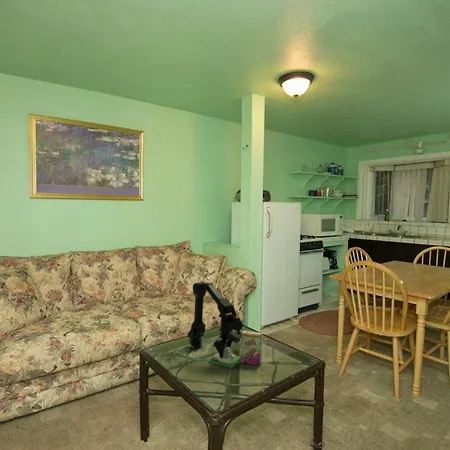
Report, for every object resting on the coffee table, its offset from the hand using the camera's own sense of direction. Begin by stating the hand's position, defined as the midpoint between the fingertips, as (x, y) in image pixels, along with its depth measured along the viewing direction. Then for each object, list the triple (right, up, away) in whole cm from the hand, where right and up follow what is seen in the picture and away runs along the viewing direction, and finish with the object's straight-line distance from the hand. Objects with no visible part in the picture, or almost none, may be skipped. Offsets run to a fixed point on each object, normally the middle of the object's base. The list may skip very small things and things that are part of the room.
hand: (225, 355), depth 173 cm
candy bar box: (+14, -4, -1) cm, 15 cm away
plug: (0, -2, 0) cm, 2 cm away
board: (0, -4, +1) cm, 4 cm away
